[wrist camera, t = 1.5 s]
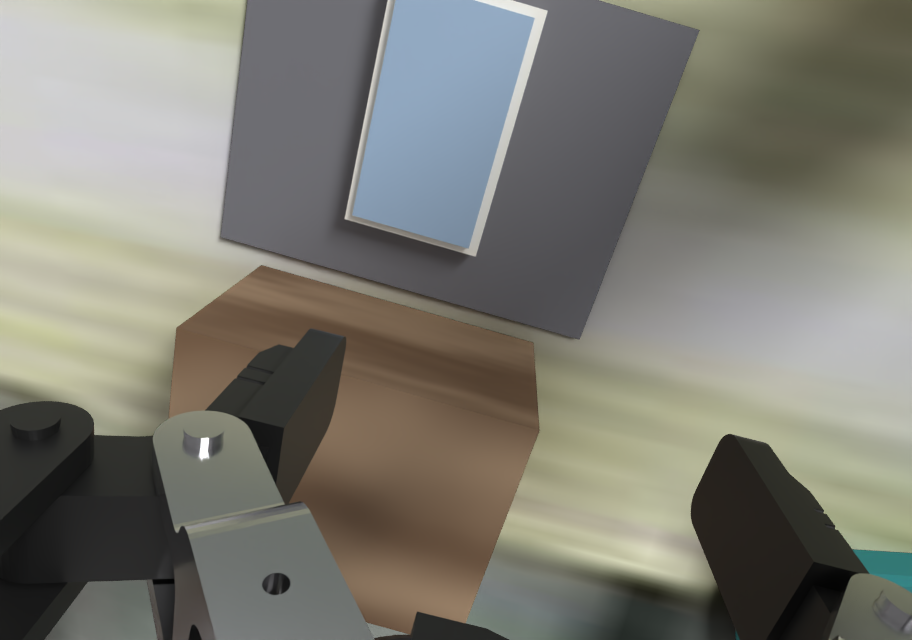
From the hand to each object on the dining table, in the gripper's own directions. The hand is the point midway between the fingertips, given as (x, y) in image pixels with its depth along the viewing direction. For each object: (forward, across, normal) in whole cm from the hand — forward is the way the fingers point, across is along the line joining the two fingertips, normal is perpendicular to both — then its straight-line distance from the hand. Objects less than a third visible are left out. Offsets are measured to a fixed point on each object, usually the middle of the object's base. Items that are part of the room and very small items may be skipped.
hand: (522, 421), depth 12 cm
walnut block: (+17, +5, +11) cm, 20 cm away
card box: (+16, +4, -4) cm, 17 cm away
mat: (+16, +4, -3) cm, 17 cm away
